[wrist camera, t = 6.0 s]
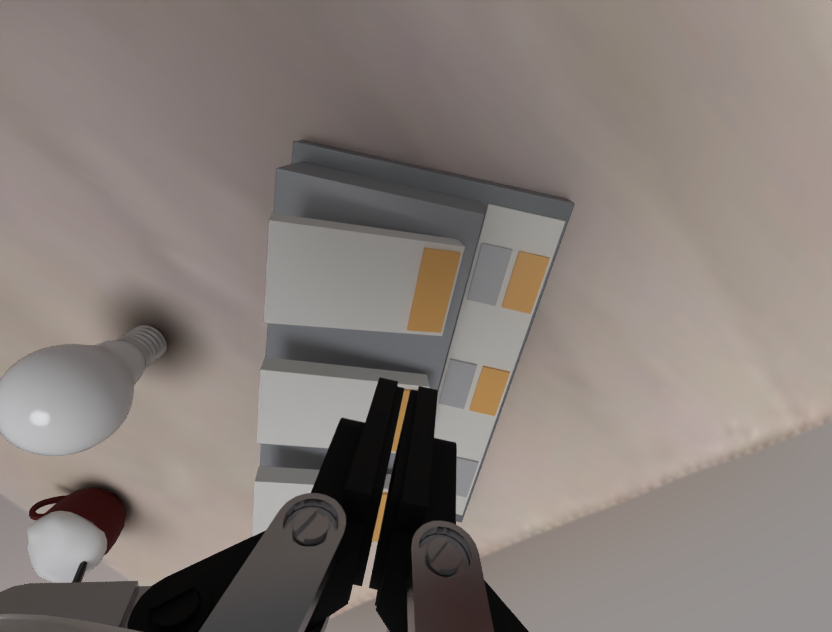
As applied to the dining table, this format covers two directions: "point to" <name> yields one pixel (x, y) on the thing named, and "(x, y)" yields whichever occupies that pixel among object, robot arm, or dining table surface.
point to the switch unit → (472, 298)
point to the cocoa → (74, 533)
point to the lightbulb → (74, 392)
